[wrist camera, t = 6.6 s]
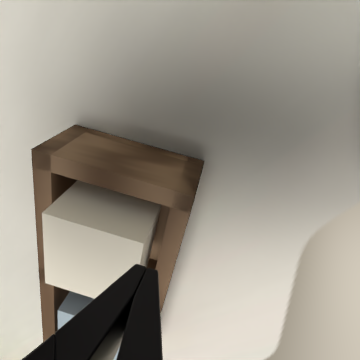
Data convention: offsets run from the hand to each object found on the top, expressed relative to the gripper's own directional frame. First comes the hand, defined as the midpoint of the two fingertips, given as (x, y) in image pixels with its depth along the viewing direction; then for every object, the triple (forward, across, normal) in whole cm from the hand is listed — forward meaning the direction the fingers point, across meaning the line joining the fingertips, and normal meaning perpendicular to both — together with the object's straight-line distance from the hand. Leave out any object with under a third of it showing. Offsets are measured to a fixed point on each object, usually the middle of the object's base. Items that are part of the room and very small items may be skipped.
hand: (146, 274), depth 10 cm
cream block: (+8, +4, +6) cm, 11 cm away
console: (+11, +4, +12) cm, 17 cm away
